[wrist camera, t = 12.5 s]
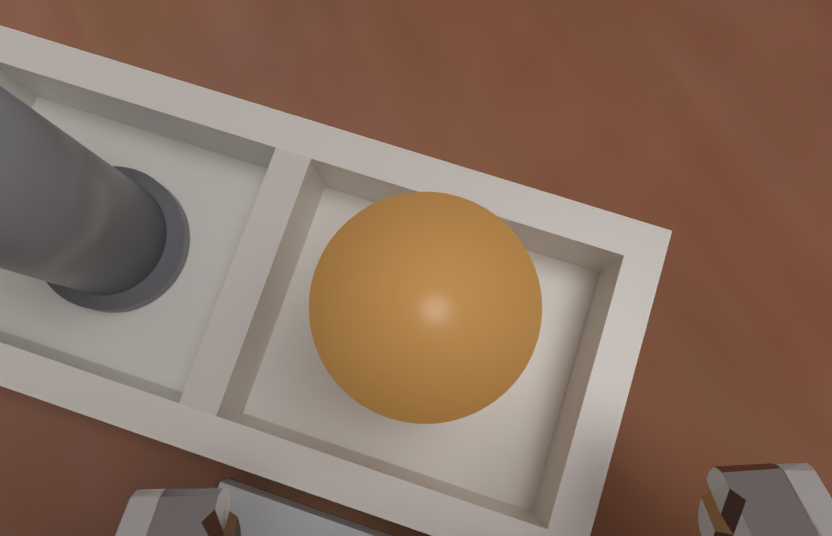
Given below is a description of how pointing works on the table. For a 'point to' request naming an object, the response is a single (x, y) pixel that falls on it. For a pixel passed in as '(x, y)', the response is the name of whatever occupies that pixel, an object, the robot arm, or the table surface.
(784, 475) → the robot arm
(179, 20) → the table surface
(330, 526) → the lid
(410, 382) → the domed orange pawn
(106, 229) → the grey rounded peg
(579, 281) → the white divided tray
